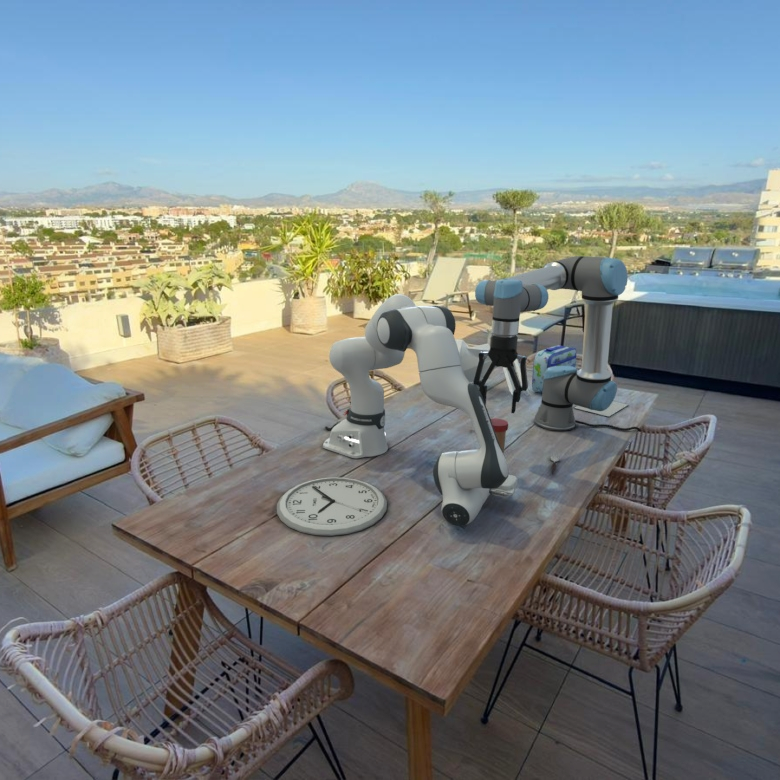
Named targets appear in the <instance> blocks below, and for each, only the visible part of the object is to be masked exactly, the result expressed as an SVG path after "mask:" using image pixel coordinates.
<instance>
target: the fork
mask: <svg viewBox="0 0 780 780" xmlns="http://www.w3.org/2000/svg"><path fill="white" fill-rule="evenodd" d="M550 460H551V461H552V462H553V463H552V464H551V475H554V472H555V470H556V467H557V466H556V462H559V461H560V453H558V452H556V451H554V450H552V451H551V456H550Z"/></svg>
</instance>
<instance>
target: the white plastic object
mask: <svg viewBox="0 0 780 780" xmlns="http://www.w3.org/2000/svg"><path fill="white" fill-rule="evenodd" d="M455 341H456V344H457V347H458V351H459V355H460V359H461V364H462V365H461V366H462V369H463V372H464V375H465V377H466V378H467V380H468V381H469V382H470V383H473V381H474V378H475V374H476V370H477V366H478V363H479V353H480V352H481V351H484V352H489V350H490V344H489V343H488V342H487V343H483V344H479V345H473V346H469V345H468V343H466V342H465V340H464V339H463V338H460V339H458V338H455ZM491 363H492V361H491V359H490V358H489V356H487V358H486V359H485V361H484V365H483V369H482V372H481V376H480V381H482V379H483V377H484V375H485V374H486V372H487V370H488V368H489V366H490V365H491ZM513 364H514V367H515V370H516V374H517V377H518V379H519V382H520V385H521V386H522V380H521V370H520V363H519V362H518V359H516V360H515V361H514V362H513ZM497 368H498V367H496V366H495V367H494V369H493V371H495V370H496V369H497ZM502 370H503V373H504V376H505V380H506V383H507V386H508V390H509V393H510V394H511V395H512V396H513V392H514V390H516V389H515V387H514V384H513V381H512V378H511V376H510V373H509V371H508V369H507V368H505V367H502ZM523 393H524V395H525V396H526V397H528V396H531V395H530V390H529V387H528V388H527V390H526V391H523Z"/></svg>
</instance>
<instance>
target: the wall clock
mask: <svg viewBox="0 0 780 780" xmlns="http://www.w3.org/2000/svg"><path fill="white" fill-rule="evenodd" d="M387 509H388V500H387V498H386V496H385V494H384V493H383V492H382V491H381V490H380V489H379V488H377V487H376V486H374V485H372V484H371V483H369V482H365V481H362V480H359V479H355V478H349V477H338V476H337V477H335V476H333V477H332V476H331V477H322V478H317V479H312V480H307V481H305V482H302V483H299V484H297V485H295V486H293V487H292V488H290V489H288V490H287V491H286V492H285V493H284V494H283V495H281V496H280V498H279V499H278V502H277V503H276V515H277V517H278V518H279V520H280V521H281V522H282V523H283V524H285V525H286V526H287V527H288V528H290V529H293V530H295V531H297V532H299V533H303V534H308V535H312V536H327V537H328V536H329V537H331V536H332V537H333V536H342V535H350V534H352V533H356V532H361V531H363V530H366V529H368V528H369V527H372V526H373V525H375V524H376V523H378V522H379V521H380V520H381V519H382V518H383V517H384V516H385V514H386V512H387Z"/></svg>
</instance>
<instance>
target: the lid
mask: <svg viewBox="0 0 780 780" xmlns="http://www.w3.org/2000/svg"><path fill="white" fill-rule="evenodd" d="M490 419H491V422H492V425H493V428H494V431H495V432H504V431H506V432H507V431H508V429H509V422H508V421H507V420H505V419H502V418H490Z"/></svg>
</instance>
